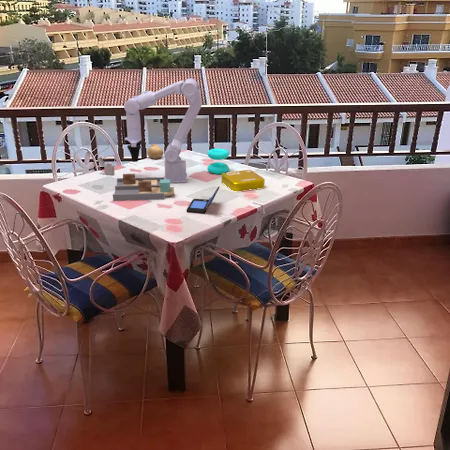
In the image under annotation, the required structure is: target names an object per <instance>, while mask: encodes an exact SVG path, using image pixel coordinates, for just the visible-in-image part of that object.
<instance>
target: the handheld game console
mask: <svg viewBox="0 0 450 450" xmlns="http://www.w3.org/2000/svg"><path fill="white" fill-rule="evenodd" d="M219 189H220V186H217V188H216V189H215V191H214V193H213V194H212V195H211V196H210V198H208V199H207V198H193V199H192V200H191V202H190V204H188V207H187V208H186V213H189V214H203V215H206V214H205V213H207V212H208V209H209V207H210V205H211V203H212V202H213V200H214V199H215V197H216V195H217V193H218V191H219Z"/></svg>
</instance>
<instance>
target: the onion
mask: <svg viewBox="0 0 450 450" xmlns="http://www.w3.org/2000/svg"><path fill="white" fill-rule="evenodd" d="M146 151H147V156H148V158H151V159H153V160H158V159H161V158H162V157H164V150H163V148H162V147H161V146H160V145H158V144H156V143H151V146H150V147H149V148H147V150H146Z"/></svg>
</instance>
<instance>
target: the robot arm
mask: <svg viewBox="0 0 450 450" xmlns="http://www.w3.org/2000/svg"><path fill="white" fill-rule="evenodd" d="M174 94H176V95H180V96H181V95H183V97H184V98H185V99H186V100H187V102H188V105H189V107H188V109H187V110H186V112H185V114H184V117H183V119H182V121H181V122H180V125H179V127H178V129H177V131H176V133H175V134H174V137H173V139H172V141H171V142H170V143H169V144H168V145H167V147H166V150H165V151H164V152H163V157H164V176H163V177H164V180H165V179H170V184H172V183H179V184H180V183H187V177H188V173H187V161H186V160H183V159H182V158H181V156H180V154H181V151H182V147H183V144H184V142H185V140H186V138H187V137H188V134H189V133H190V131H191V129H192V127H193V124H194V122H195V120H196V118H197V116H198V115H199V113H200V110H201V109H202V106H203V104H202V95H201V88H200V85H199V84H198V81H197V80H196V79H194V78H192V77H190V78H189V77H188V78H187V79H182V80H180V81H175V82H173V83H171V84H170V85H167V86H165V87H163V88H161V89H158V90H156V91H152V90H145V91H143V93H141V94H139V95H134V96H133V97H131V98H129V99H128V100H127V101H125V103H124V107H123V109H124V111H125V114H126V116H125V117H126V120H125V121H126V132H127V133H126V134H127V136H126V137H125V138H124V141H128V143H129V144H127V147H126V148H127V149H128V151H129V153H130V157H131V160H132V162H136V163H138V161H139V156H140V151H141V150H140V149H141V148H142V145H141V144H142V142H143V140H142V138H143V137H142V130H141V128H142V127H141V125H142V124H141V116H140V115H141V114H140V110H144V109H147V108H150V107H152V106H154V105H156V104H157V101H159V100H160V99H163V98H166V97H168V96H171V95H174Z"/></svg>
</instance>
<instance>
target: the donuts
mask: <svg viewBox="0 0 450 450" xmlns="http://www.w3.org/2000/svg"><path fill="white" fill-rule="evenodd" d="M229 156H230V152H229V151H228V150H227V149H224V148H211V149H209V150H208V151H207V157H209V159H211V160H214V161H217V162H212V163H209V165H208V166H207V167H206V168H207V171H208V172H209V173H210V172H211V173H210V174H213V173H215V174H216V175H221V174H220V173H225V172H226V173H227V171H228V172H229V170H230V167H229V165H228V164H226V163H225V162H218V161H222V160H226V159H227V158H228V157H229ZM215 174H214V175H215Z"/></svg>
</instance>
